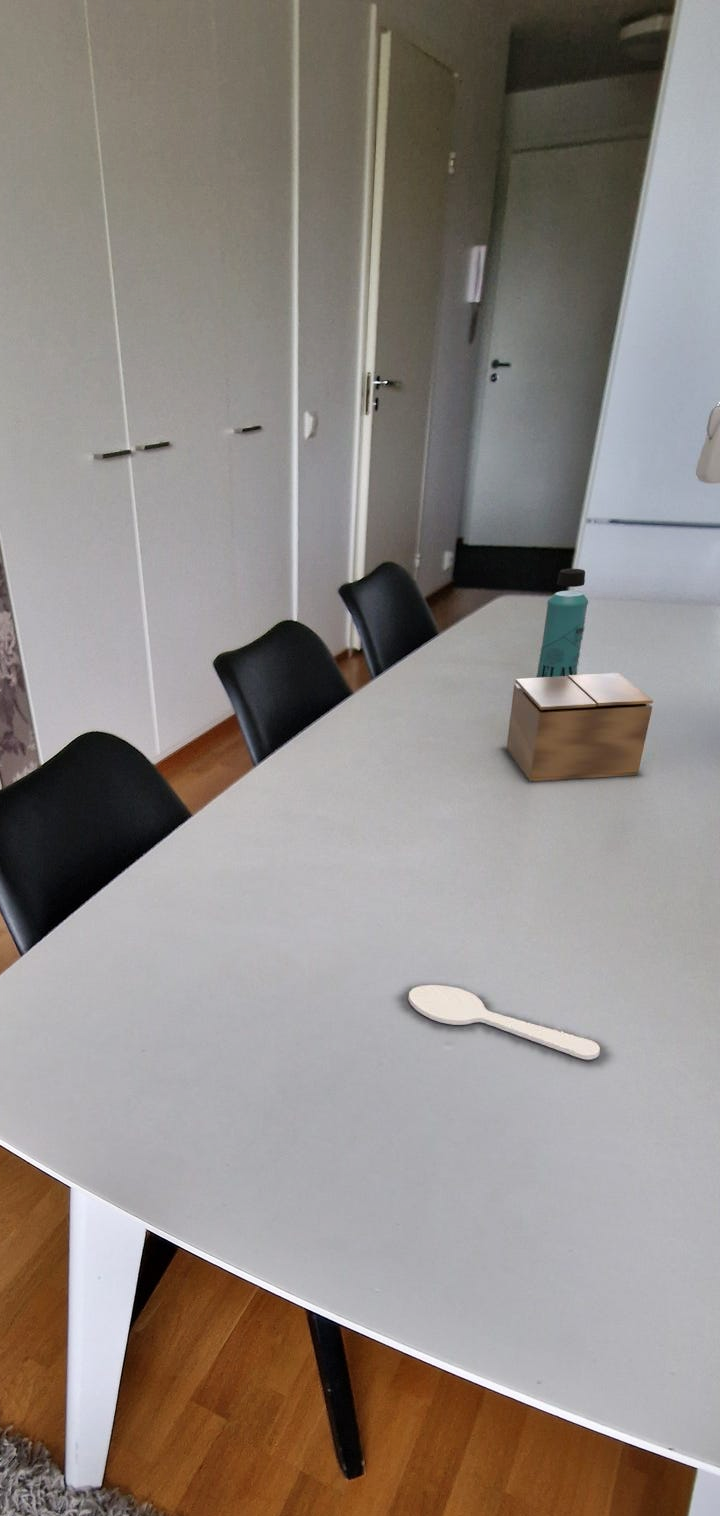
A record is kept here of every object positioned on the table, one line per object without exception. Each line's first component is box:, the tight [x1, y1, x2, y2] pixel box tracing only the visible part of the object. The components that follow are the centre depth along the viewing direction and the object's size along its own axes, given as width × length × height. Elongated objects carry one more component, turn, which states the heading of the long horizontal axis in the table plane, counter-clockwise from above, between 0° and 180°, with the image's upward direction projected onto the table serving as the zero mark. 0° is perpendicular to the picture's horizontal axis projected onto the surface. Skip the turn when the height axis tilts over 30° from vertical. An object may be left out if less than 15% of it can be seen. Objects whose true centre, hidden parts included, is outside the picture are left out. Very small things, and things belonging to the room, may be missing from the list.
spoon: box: [408, 984, 601, 1061], centre depth 84 cm, size 5×18×1 cm, turn 54°
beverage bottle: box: [535, 568, 589, 678], centre depth 150 cm, size 6×7×20 cm
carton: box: [505, 676, 653, 782], centre depth 131 cm, size 15×13×10 cm
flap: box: [568, 672, 654, 706], centre depth 127 cm, size 7×13×1 cm, turn 2°
